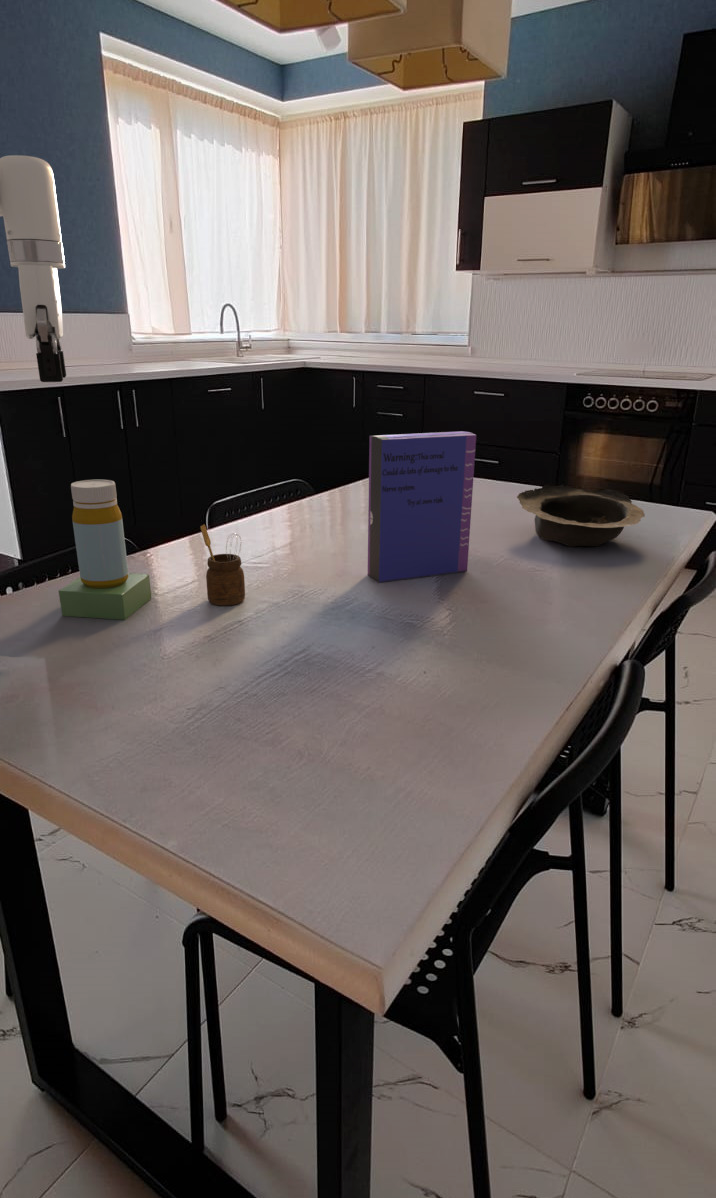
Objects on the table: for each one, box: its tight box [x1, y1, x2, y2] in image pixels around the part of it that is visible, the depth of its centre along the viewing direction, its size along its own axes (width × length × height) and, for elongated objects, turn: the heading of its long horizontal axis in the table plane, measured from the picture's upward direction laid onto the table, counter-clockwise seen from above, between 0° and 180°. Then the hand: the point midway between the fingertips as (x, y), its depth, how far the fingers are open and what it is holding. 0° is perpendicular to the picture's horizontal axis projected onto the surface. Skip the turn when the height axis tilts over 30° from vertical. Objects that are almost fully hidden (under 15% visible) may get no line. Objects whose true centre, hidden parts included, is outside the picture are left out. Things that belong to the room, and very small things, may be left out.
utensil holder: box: [199, 524, 246, 607], centre depth 120 cm, size 6×6×12 cm
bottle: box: [70, 479, 129, 588], centre depth 115 cm, size 7×7×15 cm
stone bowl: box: [516, 483, 646, 548], centre depth 158 cm, size 25×25×9 cm
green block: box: [58, 572, 152, 621], centre depth 118 cm, size 10×10×4 cm
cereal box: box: [367, 430, 477, 584], centre depth 132 cm, size 17×5×24 cm, turn 113°
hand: (53, 379), depth 120 cm, fingers open, 9 cm apart
